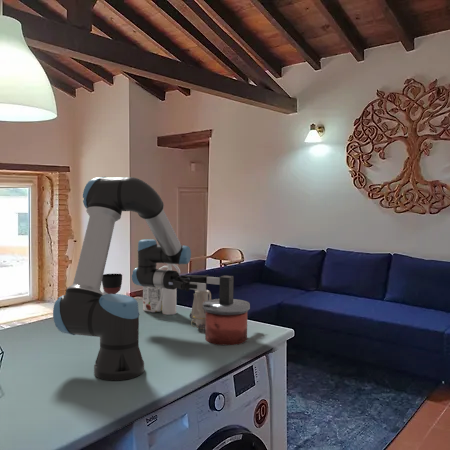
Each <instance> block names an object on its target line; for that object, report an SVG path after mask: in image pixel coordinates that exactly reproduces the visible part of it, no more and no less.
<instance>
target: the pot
mask: <svg viewBox="0 0 450 450" xmlns="http://www.w3.org/2000/svg"><path fill="white" fill-rule="evenodd" d="M246 301H247V300H246ZM247 302H249V301H247ZM205 311H206V310H205ZM248 312H249V310H248V311H245V312H241V313H232V314H223V313H213V312H209V311H206V317H205V329H204V330H205V333H204V336H205V339H204V340H205V341H206V342H207V343H210V344H213V345H219V346H220V345H221V346H235V345H241V344H244V343H246V342H247V341H248ZM246 340H247V341H246ZM245 341H246V342H245ZM243 342H244V343H243Z"/></svg>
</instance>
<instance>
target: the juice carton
mask: <svg viewBox="0 0 450 450" xmlns="http://www.w3.org/2000/svg"><path fill="white" fill-rule="evenodd" d="M159 301H160V288H157V287H147V286H142V306H143V307H142V308H143V311H144V312H150V313H157V312H159V311H156V310H154V309H155V307H156V305H157V303H158V302H159ZM161 311H162V306H161Z"/></svg>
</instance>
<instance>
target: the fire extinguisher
mask: <svg viewBox="0 0 450 450" xmlns="http://www.w3.org/2000/svg"><path fill="white" fill-rule="evenodd" d="M172 266H173V267H174V268H175V269H176V271H177V272H178V273H179V275H180V274H181V269H180V267H179V265H178V264H167V265H163V266H161V267H159V268H158V269H162V270H164V269H166V270H172V271H173V267H172ZM177 289H178V288H176V289H166V288H162V289H160V301H159V302H158V303H157V305H156V307H155V309H154V310H156V311H158V312H161V311H162V315H168V316H169V315H175V314H177V291H178V290H177ZM161 306H162V310H161Z"/></svg>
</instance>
